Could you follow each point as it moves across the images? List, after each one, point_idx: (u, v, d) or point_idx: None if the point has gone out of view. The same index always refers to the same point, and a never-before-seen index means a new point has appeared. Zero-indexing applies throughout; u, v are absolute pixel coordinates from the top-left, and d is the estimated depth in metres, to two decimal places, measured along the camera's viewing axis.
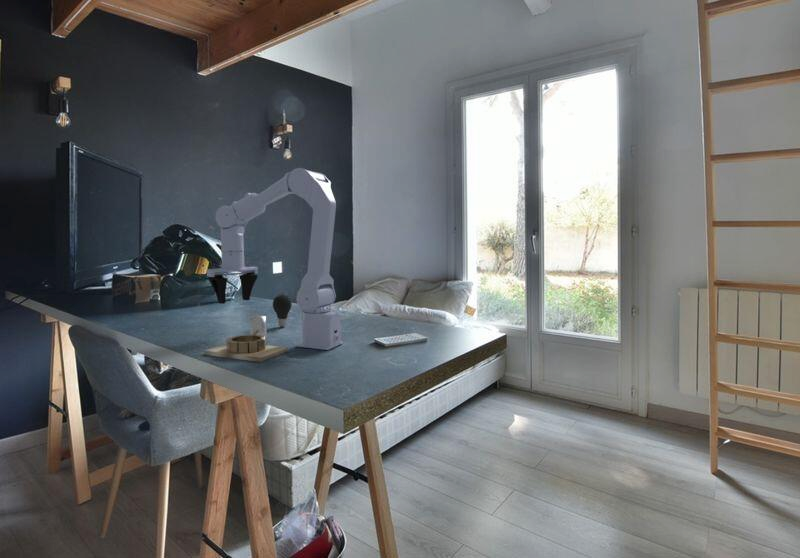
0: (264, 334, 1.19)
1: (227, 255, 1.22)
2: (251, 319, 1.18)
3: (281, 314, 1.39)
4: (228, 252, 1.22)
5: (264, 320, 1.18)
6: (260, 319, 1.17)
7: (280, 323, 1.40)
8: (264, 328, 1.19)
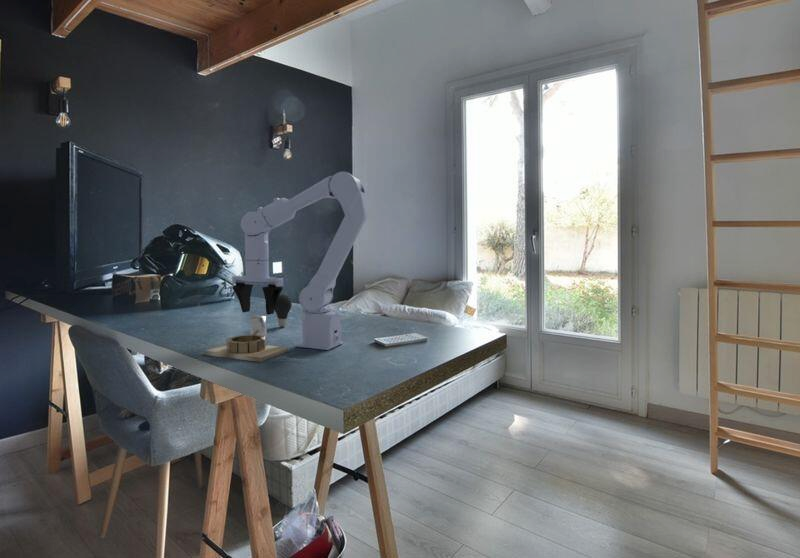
0: (264, 334, 1.19)
1: None
2: (251, 319, 1.18)
3: (281, 314, 1.39)
4: None
5: (264, 320, 1.18)
6: (260, 319, 1.17)
7: (280, 323, 1.40)
8: (264, 328, 1.19)
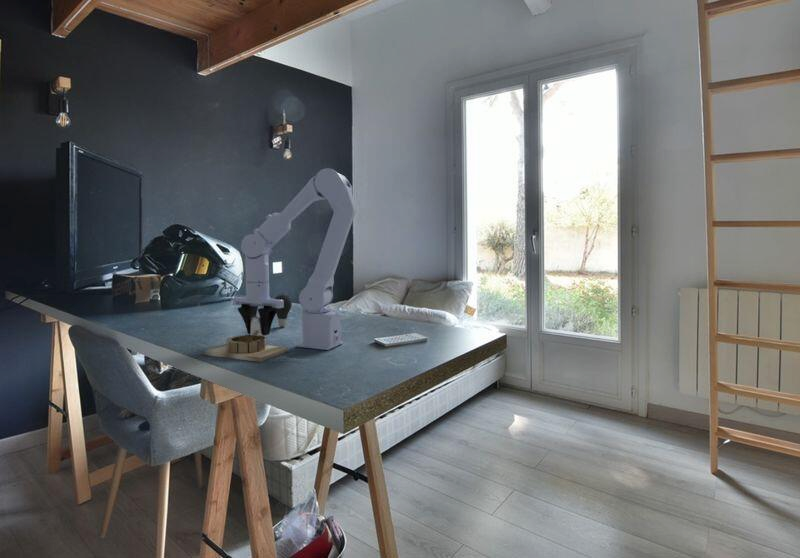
0: None
1: None
2: (251, 319, 1.18)
3: (281, 314, 1.39)
4: None
5: None
6: (260, 319, 1.17)
7: (280, 323, 1.40)
8: None
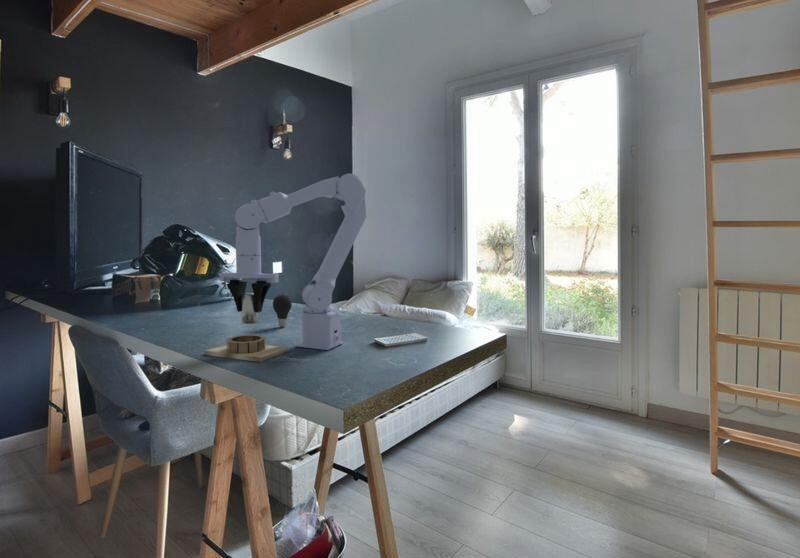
0: None
1: (236, 259, 1.10)
2: (243, 296, 1.10)
3: (281, 314, 1.39)
4: (236, 256, 1.10)
5: None
6: (253, 296, 1.10)
7: (280, 323, 1.40)
8: None
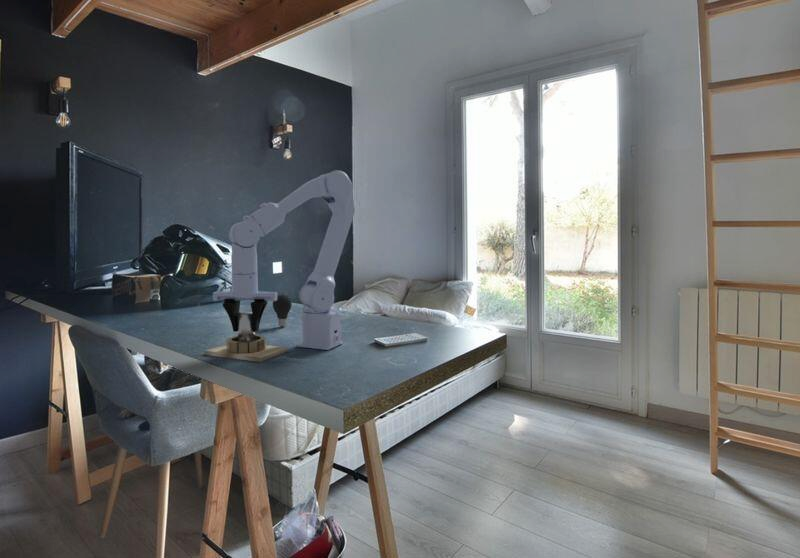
0: None
1: (232, 277, 1.07)
2: (240, 316, 1.07)
3: (281, 314, 1.39)
4: (232, 274, 1.06)
5: None
6: (251, 315, 1.08)
7: (280, 323, 1.40)
8: None
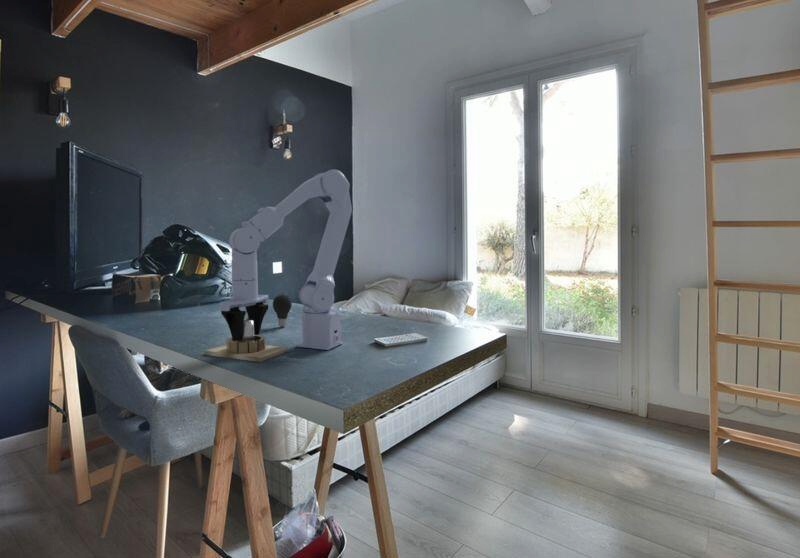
0: None
1: (242, 284, 1.05)
2: (250, 322, 1.08)
3: (281, 314, 1.39)
4: (243, 281, 1.05)
5: None
6: None
7: (280, 323, 1.40)
8: None
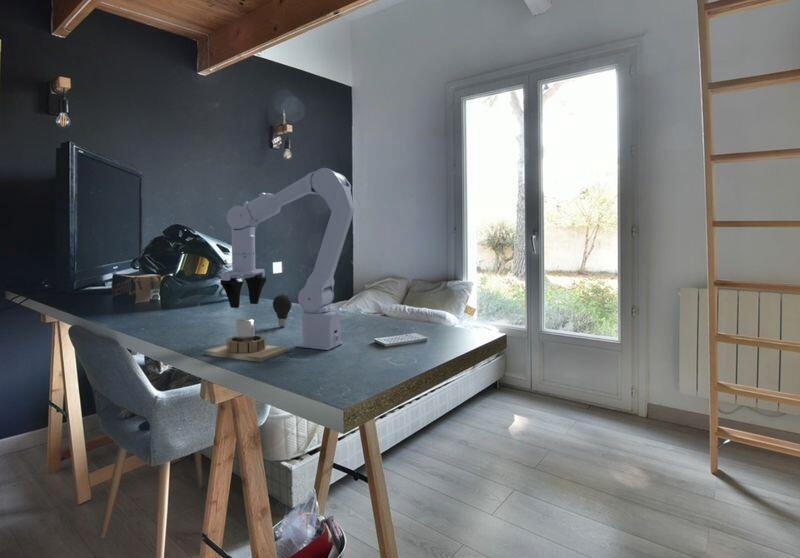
0: None
1: (241, 257, 1.17)
2: (249, 322, 1.08)
3: (281, 314, 1.39)
4: (242, 254, 1.17)
5: None
6: None
7: (280, 323, 1.40)
8: None
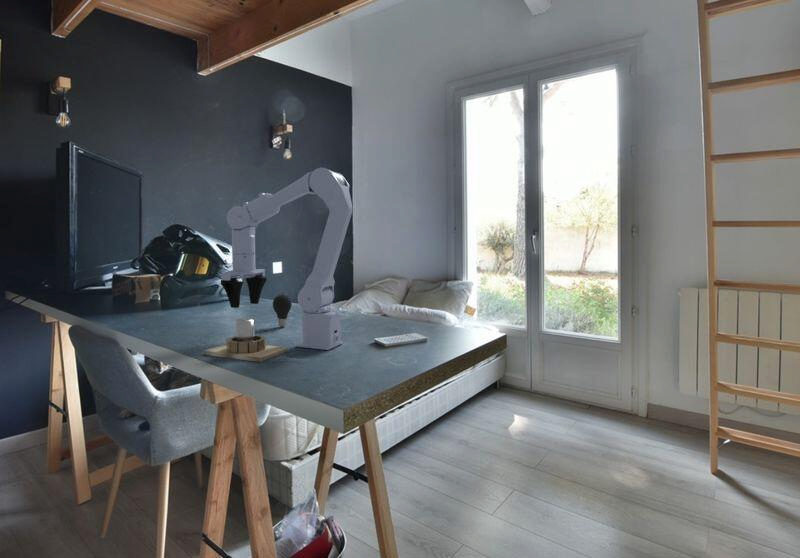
0: None
1: (241, 257, 1.18)
2: (249, 322, 1.08)
3: (281, 314, 1.39)
4: (242, 254, 1.18)
5: None
6: None
7: (280, 323, 1.40)
8: None
